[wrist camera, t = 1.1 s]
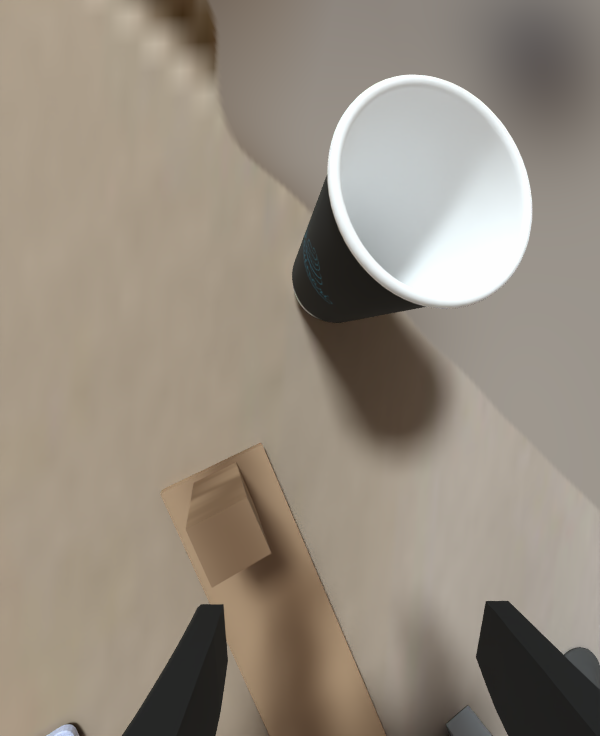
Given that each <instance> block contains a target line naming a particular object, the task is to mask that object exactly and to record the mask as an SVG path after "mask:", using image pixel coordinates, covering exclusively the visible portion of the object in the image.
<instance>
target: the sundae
mask: <svg viewBox="0 0 600 736" xmlns="http://www.w3.org/2000/svg"><path fill="white" fill-rule="evenodd" d="M564 656H565V657H566V658H567V659H568V660H569V661H570V662H571V663H572V664H573V665H574V666H575V667H577V668H578V669H579V670H580V671H581V672H582V673H583V674H584V675H585V676H586V677H587V678H588V679H589V680H590V681H591V682H592V683H593V684H594V685H596V686H597V687H598V688H599V689H600V665H599V662H598V660H597V658H596V657H595V655H594V654H593V653H592V652H591V651H590V650H588V649H585V648H575V649H572V650H570V651H568V652H567V653H566V654H565V655H564Z"/></svg>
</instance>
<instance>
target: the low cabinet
mask: <svg viewBox="0 0 600 736" xmlns="http://www.w3.org/2000/svg"><path fill="white" fill-rule="evenodd" d="M446 726H447V728H448V731H449V733H450V736H492V735H491V733H490V732H489V731H488V730H487V728H486V727H485V726H484V725H483V723H482V722H481V721H480V720H479V718H478V717H477V716H476V715H475V713H474V712H473V711H472V710H471V708H470V707H469V706H467V707H465V708H464V709H463V710H462V711H461V712H460V713H458V714H457V715H456V716H455V717H454V718H453V719H451V720H450V721H449V722H448V723H447V724H446Z"/></svg>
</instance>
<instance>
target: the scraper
mask: <svg viewBox="0 0 600 736" xmlns="http://www.w3.org/2000/svg"><path fill="white" fill-rule="evenodd" d="M161 497H162V499H163V501H164V503H165V506H166V508H167V510H168V512H169V514H170V517H171V519H172V521H173V523H174V525H175V528H176V530H177V532H178V534H179V537H180V539H181V541H182V543H183V545H184V548H185V550H186V552H187V554H188V556H189V559H190V561H191V563H192V565H193V568H194V570H195V572H196V574H197V576H198V579H199V581H200V583H201V585H202V587H203V590H204V592H205V594H206V596H207V599H208V601H209V603H210V604H224V617H225V630H226V641H227V643H228V645H229V647H230V649H231V652H232V654H233V656H234V658H235V661H236V663H237V665H238V667H239V669H240V672H241V674H242V676H243V678H244V680H245V683H246V685H247V687H248V689H249V692H250V694H251V696H252V698H253V700H254V703H255V705H256V707H257V709H258V711H259V714H260V716H261V718H262V720H263V723H264V725H265V727H266V729H267V731H268V734H269V736H386V734H385V731H384V729H383V727H382V724H381V722H380V720H379V717H378V715H377V713H376V710H375V708H374V705H373V703H372V701H371V698H370V696H369V694H368V691H367V689H366V687H365V684H364V682H363V680H362V677H361V675H360V673H359V670H358V668H357V666H356V663H355V661H354V659H353V656H352V654H351V652H350V649H349V647H348V644H347V642H346V640H345V637H344V635H343V633H342V630H341V628H340V626H339V623H338V621H337V619H336V616H335V614H334V612H333V609H332V607H331V605H330V602H329V600H328V598H327V595H326V593H325V591H324V588H323V586H322V584H321V581H320V579H319V576H318V574H317V572H316V569H315V567H314V565H313V562H312V560H311V558H310V555H309V553H308V551H307V548H306V546H305V544H304V541H303V539H302V537H301V534H300V532H299V530H298V527H297V525H296V523H295V520H294V518H293V516H292V513H291V511H290V508H289V506H288V504H287V501H286V499H285V497H284V494H283V492H282V490H281V487H280V485H279V483H278V480H277V478H276V476H275V473H274V471H273V469H272V466H271V464H270V462H269V459H268V457H267V455H266V452H265V450H264V448H263V445H262V444H261V443H259V444H257V445H255V446H252V447H250V448H248V449H246V450H244V451H242V452H240V453H238V454H236V455H234V456H232V457H230V458H228V459H225V460H223V461H221V462H219V463H217V464H215V465H213V466H211V467H209V468H207V469H205V470H203V471H201V472H198V473H196V474H194V475H192V476H190V477H188V478H186V479H184V480H182V481H180V482H178V483H176V484H173V485H171V486H169V487H167V488H165V489H163V490H162V491H161Z"/></svg>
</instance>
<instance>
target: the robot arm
mask: <svg viewBox="0 0 600 736" xmlns="http://www.w3.org/2000/svg"><path fill="white" fill-rule="evenodd" d="M476 659H477V661H478V664H479V667H480V669H481V672H482V675H483V678H484V680H485V683H486V686H487V688H488V691H489V693H490V696H491V698H492V701H493V704H494V706H495V709H496V711H497V713H498V715H499V717H500V719H501V721H502V724H503V726H504V728H505V730H506V732H507V734H508V736H600V689H599V688H598V687H597V686H596V685H594V684H593V683H592V682H591V681H590V680H589V679H588V678H587V677H586V676H585V675H584V674H583V673H582V672H581V671H580V670H579V669H578V668H577V667H575V666H574V665H573V664H572V663H571V662H570V661H569V660H568V659H567V658H566V657H565V656H564V655H563V654H562V653H561V652H560V651H559V650H558V649H557V648H556V647H555V646H554V645H553V644H552V643H551V642H550V641H549V640H548V639H547V638H546V637H545V636H544V635H542V634H541V633H540V632H539V631H538V630H537V629H536V628H535V627H534V626H533V625H532V624H531V623H530V622H529V621H528V620H527V619H526V618H525V617H524V616H523V615H522V614H521V613H520V612H519V611H518V610H517V609H516V608H515V607H514V606H513V605H512V604H511V603H510V602H509V601H486V604H485V609H484V615H483V621H482V626H481V632H480V638H479V643H478V649H477V654H476ZM227 662H228V657H227V644H226V630H225V617H224V604H201V605H200V606H199V607H198V608H197V610H196V612H195V614H194V616H193V618H192V620H191V622H190V623H189V625H188V627H187V629H186V631H185V633H184V635H183V637H182V638H181V640H180V642H179V644H178V646H177V647H176V649H175V651H174V653H173V654H172V656H171V658H170V660H169V661H168V663H167V665H166V666H165V668H164V670H163V671H162V673H161V675H160V676H159V678H158V680H157V681H156V683H155V685H154V686H153V688H152V690H151V691H150V693H149V694H148V696H147V698H146V699H145V701H144V703H143V704H142V706H141V707H140V709H139V711H138V712H137V714H136V715H135V717H134V718H133V720H132V721H131V723H130V724H129V726H128V727H127V729H126V730H125V732H124V733H123V735H122V736H215V735H216V731H217V726H218V721H219V717H220V712H221V705H222V698H223V691H224V684H225V677H226V670H227ZM46 736H79V734H78V732H77V730H76V728H75V727H74V726H73V725H70V724H67V725H63V726H61V727H59V728H58V729H56V730H55V731H53V732H51V733H50V734H48V735H46Z"/></svg>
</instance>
